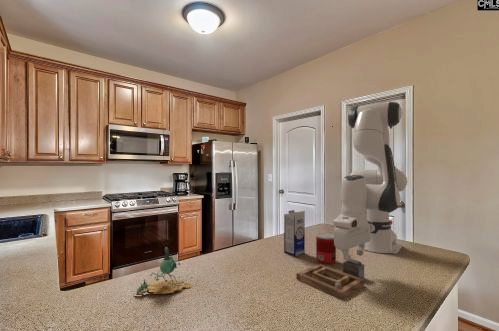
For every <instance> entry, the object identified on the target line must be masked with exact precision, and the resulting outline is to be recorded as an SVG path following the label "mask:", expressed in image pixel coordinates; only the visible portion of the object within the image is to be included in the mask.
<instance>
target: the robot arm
mask: <svg viewBox="0 0 499 331" xmlns="http://www.w3.org/2000/svg"><path fill="white" fill-rule="evenodd" d="M402 117H403V110H402V107H401V105H400V103H398V102H397V101H389V102H373V103H369V104H364V105H356V106H353V107H351V108H350V109H349V111H348V113H347V118H346V119H347V123H348V125H349V127H350V128H352V129H353V135H352V146H353V148H354V149H355V151H357V153H359V154H361V155H363V156H364V159H365V160H366V161H367V162H369V163H370V164H373V165H376V166H377V167H378V169H358V170H353V171H351V173H350V174H349V175H346V176H344V177H343V178H342V182H341V192H340V200H341V210H340V214H339V215H338V216H337V217H336V218H334V219H333V226H335V227H334V229H333V235H334V245H335V247H336V250H337V249H338V250H341V252H342V256H343V260H344V261H349V260H350V259H351V255H350V249H353V248H355V247H357V249H356V255H357V256H363V255H364V250H366V251H368V252H373V253H378V254H395V255H397V254H398V253H399V252H400V250H401V249H402V248H403V244H401V243H398V236H397V234H396V232H394V231H393V230H392V225H393V220H390V214H391V213H393V212H395V211H396V210H397V209H399V207H400V206H401V195H400V192H403V191H404V190H405V189H406V187H407V185H408V179H407V176H406V174H405V173H404V172H403V171H402V170H400V169H398V168H397V166H396V165H395V162H394V156H393V151H392V149H391V147H390V142H391V140H390V130H391V129H393V127H396V126H397V125H398V124H400V122H401V119H402Z"/></svg>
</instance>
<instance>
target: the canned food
mask: <svg viewBox="0 0 499 331" xmlns="http://www.w3.org/2000/svg"><path fill="white" fill-rule="evenodd" d="M315 239H316V240H315V242H316V243H315V244H316V246H315V249H316V251H315V253H316V261H317V262H318V264H321V265H334V264H336V261H337V248H336V247H335V245H334V234H331V233H324V232H323V233H320V232H319V233H317V234H316V237H315Z"/></svg>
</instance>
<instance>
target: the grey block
mask: <svg viewBox="0 0 499 331" xmlns="http://www.w3.org/2000/svg"><path fill="white" fill-rule="evenodd" d="M342 272H344V273H347V274H349V275H352V276H355V277H358V278H360V279H363V280H364V279H365V264H364V263H362V261H360V260H357V259H353V258H350V260H349V261H345V260H344V261H343V262H342Z"/></svg>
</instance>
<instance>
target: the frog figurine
mask: <svg viewBox="0 0 499 331" xmlns="http://www.w3.org/2000/svg"><path fill="white" fill-rule="evenodd" d="M164 253H165V256H164V258H163V259H162V260H161V262H160V264H159V272H161V274H160V275H159V273H155V272H152V273H151V274H150V275H149V276H150V277H151V276H152V275H156V276H155V277H154V280H155V281H154V280H153V281H154V282H150V283H147V281H146V279H143V282H142V283H141V284H140V286H139V287H137V290H136V293H135V294H136V295H144V294H143V293H145V292H146V290H147V292H150V293H152V294H161V295H163V294H164V295H165V294H172V293H175V292H180V291H183V289H191V288H192V286H191V285H192V284H190V283H186V282H185V281H184V280H177V279H176V276H175V275H173V274H171V273H173V272H174V270H175V269H177V268H178V267H177V266H180V265H181V263H180V262H178V264H177V262H176V261H175V259H174V257H173V256H172V253H169V248H168V246H167V247H166V246H165V248H164ZM166 274H167V275H168V276H169V277H170V279H166V278H165V276H166ZM159 277H162V278H163V279H164V280H160V279H159ZM173 277H174V279H173ZM135 294H134V295H135Z"/></svg>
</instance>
